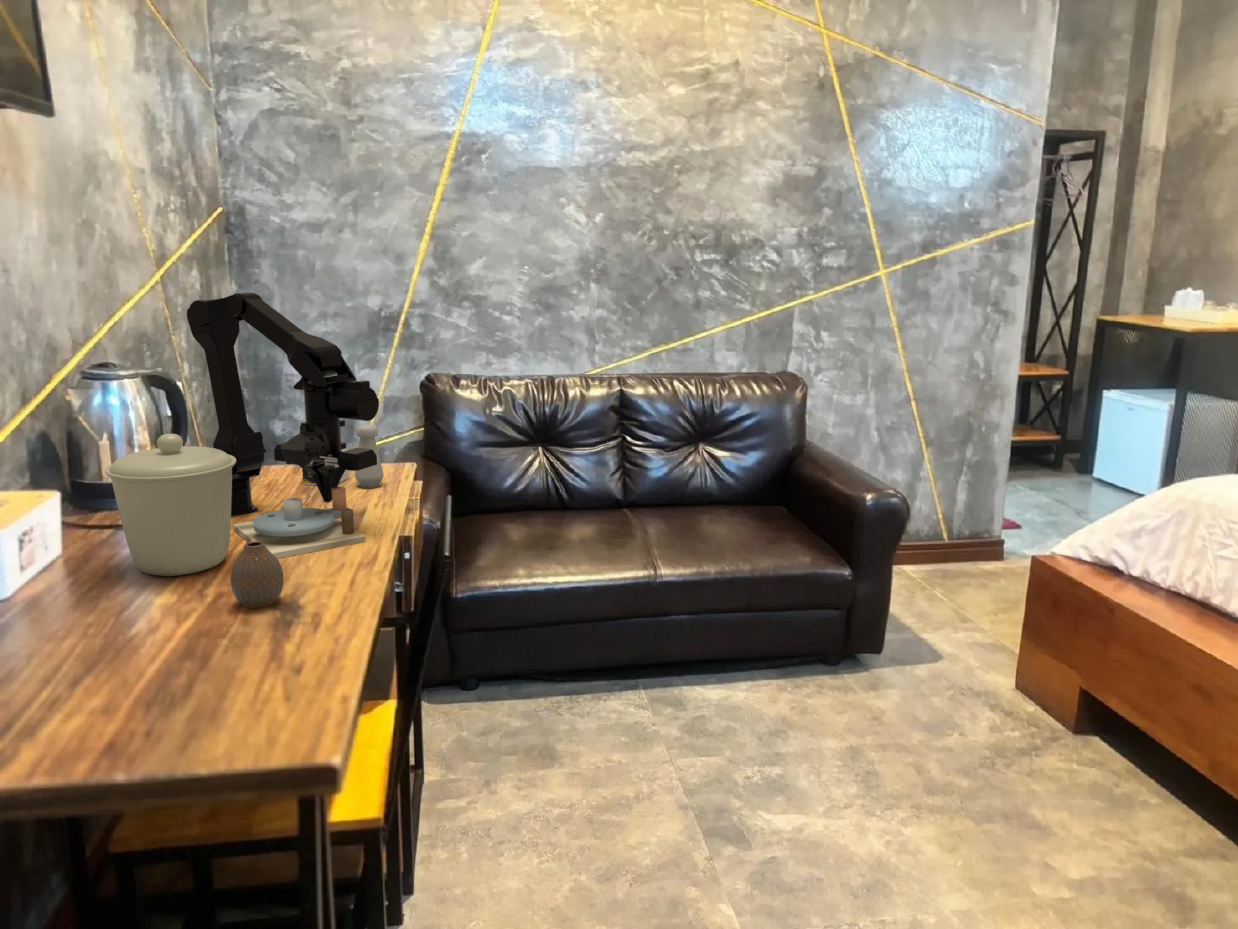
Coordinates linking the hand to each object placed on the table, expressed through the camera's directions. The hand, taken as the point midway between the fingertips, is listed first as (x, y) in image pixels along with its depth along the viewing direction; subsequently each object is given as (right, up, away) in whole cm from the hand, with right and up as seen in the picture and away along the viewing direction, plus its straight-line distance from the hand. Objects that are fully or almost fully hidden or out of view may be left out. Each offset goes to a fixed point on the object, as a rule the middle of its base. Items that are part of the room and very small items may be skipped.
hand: (327, 501), depth 162 cm
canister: (-16, -9, -20) cm, 27 cm away
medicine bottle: (-11, +3, +33) cm, 35 cm away
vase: (+2, -13, -35) cm, 37 cm away
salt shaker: (0, +2, +29) cm, 29 cm away
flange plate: (-2, -3, -6) cm, 7 cm away
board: (-4, -6, -5) cm, 8 cm away
